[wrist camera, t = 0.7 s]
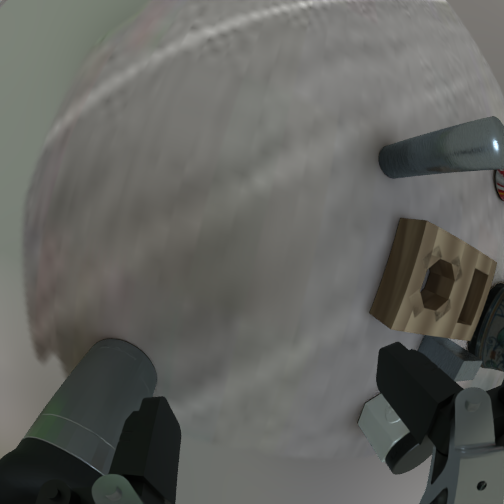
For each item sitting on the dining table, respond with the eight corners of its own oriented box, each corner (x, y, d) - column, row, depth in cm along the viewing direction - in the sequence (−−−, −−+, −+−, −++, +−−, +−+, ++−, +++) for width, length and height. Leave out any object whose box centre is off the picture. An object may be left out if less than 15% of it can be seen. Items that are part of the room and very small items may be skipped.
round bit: (401, 183, 28) (510, 178, 12) (375, 170, 27) (487, 152, 12) (407, 154, 27) (511, 134, 12) (382, 139, 27) (486, 106, 11)
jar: (401, 377, 33) (446, 422, 21) (406, 405, 34) (443, 447, 23) (351, 409, 33) (386, 464, 21) (361, 434, 34) (391, 482, 22)
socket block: (369, 313, 30) (390, 329, 25) (400, 217, 28) (426, 220, 24) (450, 329, 33) (470, 340, 28) (474, 256, 31) (497, 262, 26)
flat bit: (438, 354, 33) (473, 379, 24) (416, 352, 32) (453, 381, 23) (446, 337, 33) (482, 360, 24) (425, 334, 32) (464, 361, 23)
